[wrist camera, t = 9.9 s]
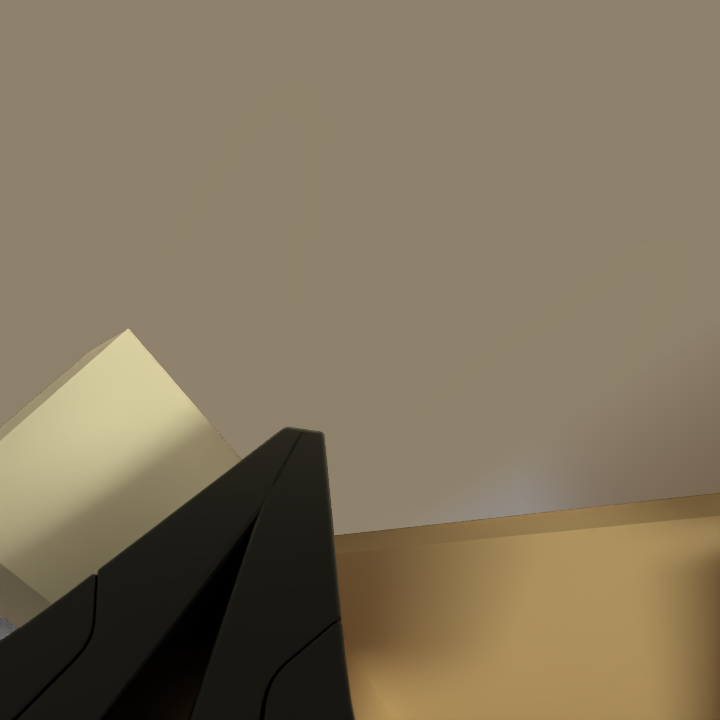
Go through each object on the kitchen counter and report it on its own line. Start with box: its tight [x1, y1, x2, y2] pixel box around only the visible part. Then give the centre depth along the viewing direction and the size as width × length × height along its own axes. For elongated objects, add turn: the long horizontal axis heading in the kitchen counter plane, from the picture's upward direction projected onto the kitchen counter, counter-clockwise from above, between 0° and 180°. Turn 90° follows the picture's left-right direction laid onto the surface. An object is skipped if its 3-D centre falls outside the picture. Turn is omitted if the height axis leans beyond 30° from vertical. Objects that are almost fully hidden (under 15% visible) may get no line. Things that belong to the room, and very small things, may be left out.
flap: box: [0, 329, 241, 628], centre depth 8 cm, size 5×1×4 cm, turn 31°
